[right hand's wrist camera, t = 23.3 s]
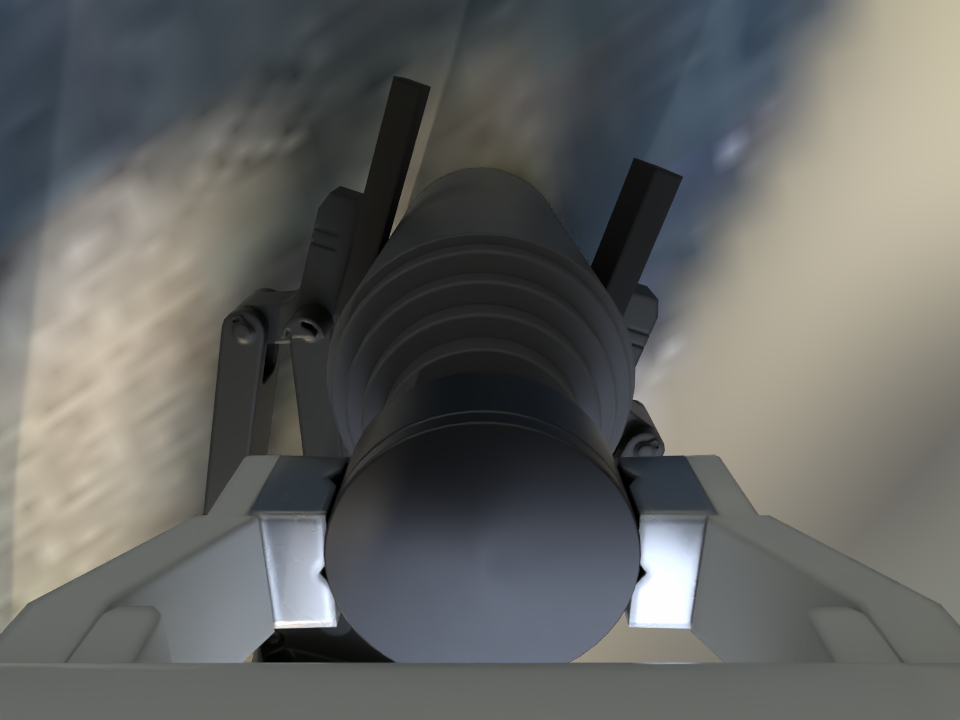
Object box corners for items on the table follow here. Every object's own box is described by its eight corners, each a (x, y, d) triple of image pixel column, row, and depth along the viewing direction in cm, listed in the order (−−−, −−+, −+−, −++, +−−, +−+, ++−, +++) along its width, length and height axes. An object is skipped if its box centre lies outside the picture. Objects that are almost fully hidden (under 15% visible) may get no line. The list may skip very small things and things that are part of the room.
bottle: (363, 235, 25) (147, 491, 9) (498, 131, 24) (542, 200, 7) (463, 359, 27) (440, 765, 11) (593, 269, 26) (799, 573, 9)
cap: (574, 332, 9) (593, 378, 8) (646, 564, 10) (673, 642, 9) (302, 419, 9) (269, 478, 8) (404, 630, 11) (393, 714, 9)
